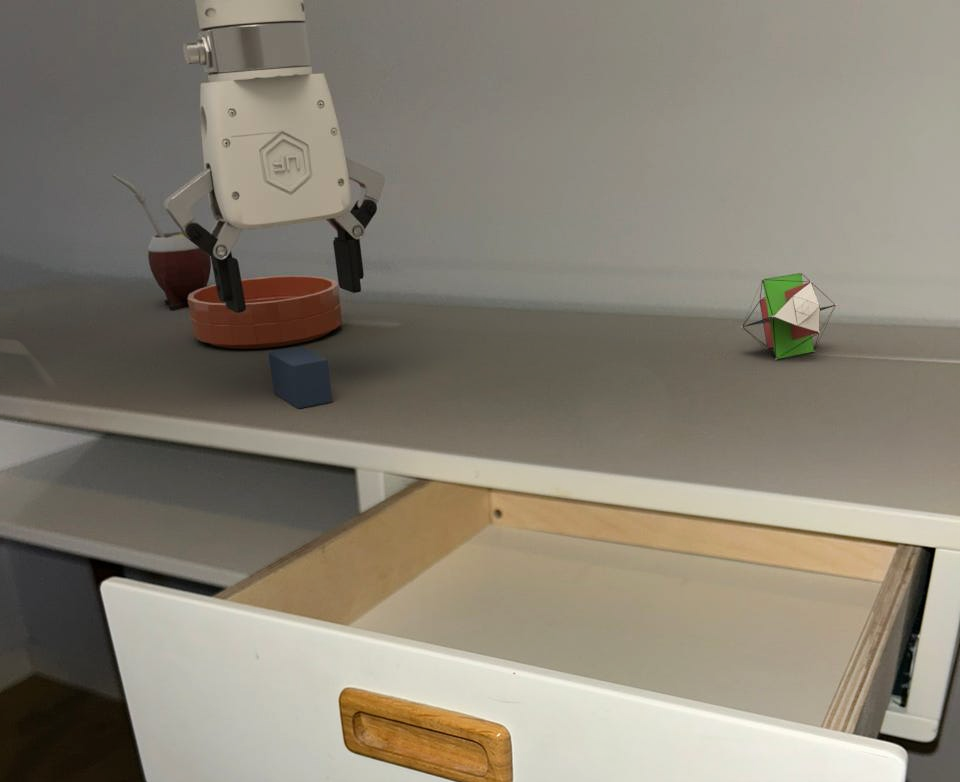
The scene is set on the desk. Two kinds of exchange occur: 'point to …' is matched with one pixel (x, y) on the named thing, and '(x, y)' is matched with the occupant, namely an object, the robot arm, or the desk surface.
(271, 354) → the blue rectangular block
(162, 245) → the mate gourd
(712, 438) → the desk surface
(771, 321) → the geometric puzzle
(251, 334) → the bowl
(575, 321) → the desk surface
